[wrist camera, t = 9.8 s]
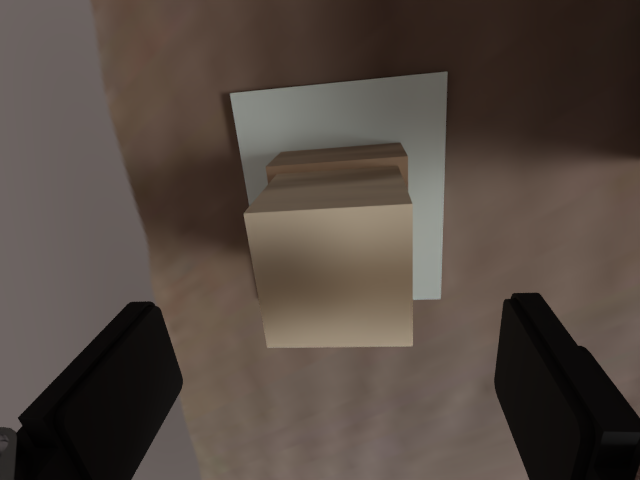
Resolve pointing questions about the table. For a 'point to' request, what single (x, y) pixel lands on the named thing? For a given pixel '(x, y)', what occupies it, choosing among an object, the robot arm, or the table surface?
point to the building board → (359, 143)
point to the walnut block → (340, 159)
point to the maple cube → (334, 258)
